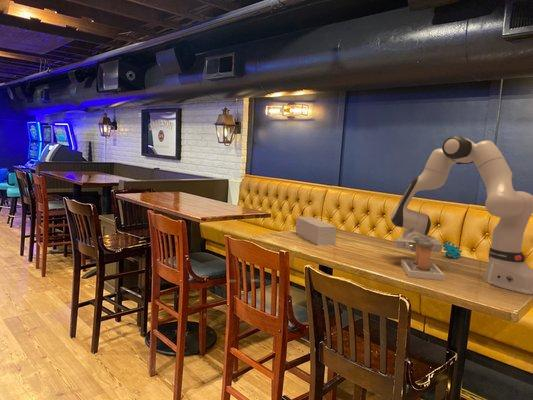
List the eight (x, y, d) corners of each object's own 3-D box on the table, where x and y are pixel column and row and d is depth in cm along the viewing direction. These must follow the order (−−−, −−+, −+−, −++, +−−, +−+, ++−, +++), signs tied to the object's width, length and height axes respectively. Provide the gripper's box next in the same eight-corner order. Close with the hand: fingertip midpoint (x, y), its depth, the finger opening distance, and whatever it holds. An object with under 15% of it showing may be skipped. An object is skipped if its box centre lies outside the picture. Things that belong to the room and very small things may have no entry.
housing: (400, 266, 188) (401, 259, 187) (432, 269, 186) (432, 262, 185) (408, 279, 168) (409, 271, 168) (443, 282, 166) (444, 274, 166)
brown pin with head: (430, 270, 179) (433, 240, 178) (420, 272, 176) (423, 240, 174) (418, 266, 185) (421, 236, 183) (408, 268, 182) (411, 237, 180)
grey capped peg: (434, 275, 172) (437, 243, 170) (424, 277, 169) (427, 244, 167) (421, 271, 178) (424, 240, 176) (411, 273, 174) (414, 241, 173)
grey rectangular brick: (334, 245, 225) (336, 226, 224) (317, 246, 222) (319, 226, 220) (311, 233, 255) (312, 217, 254) (295, 233, 252) (296, 217, 251)
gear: (447, 256, 207) (442, 239, 213) (440, 261, 211) (435, 245, 217) (466, 259, 209) (460, 243, 215) (458, 264, 213) (453, 248, 220)
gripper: (393, 233, 193) (398, 239, 180) (438, 237, 190) (446, 243, 176) (392, 246, 194) (396, 253, 180) (437, 250, 191) (444, 257, 177)
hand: (421, 248), depth 178 cm, fingers open, 8 cm apart
